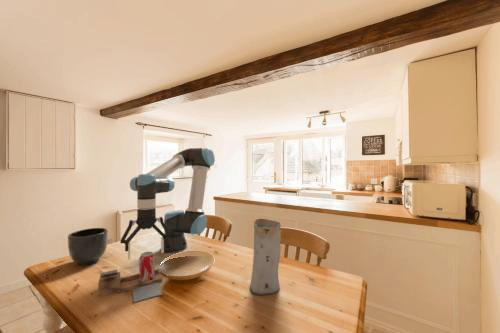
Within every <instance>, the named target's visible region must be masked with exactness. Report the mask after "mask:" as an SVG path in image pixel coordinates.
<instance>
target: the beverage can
mask: <svg viewBox="0 0 500 333" xmlns="http://www.w3.org/2000/svg"><path fill="white" fill-rule="evenodd" d="M155 256H156V255H155V254H154V252H152V251H145V252H142V253H141V254H140V257H139V264H138V265H139V273H138V274H139V276H140V278H139V282H140V283H142V282H146V281H150V280H154V279H156V278H155V276H156V274H155V270H156V269H155V264H156V263H155V262H156V261H155Z"/></svg>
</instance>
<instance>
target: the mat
mask: <svg viewBox="0 0 500 333" xmlns="http://www.w3.org/2000/svg"><path fill="white" fill-rule="evenodd" d="M159 283H160V282H159ZM159 283H154V284H150V285H146V286H142V287H138V288H135V289H132V298H133V304H135V303H138V302H143V301H145V300H149V299H153V298H156V297H159V296H162V295H163V293H162V290H161V287H160V284H159Z"/></svg>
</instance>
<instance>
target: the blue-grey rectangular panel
mask: <svg viewBox="0 0 500 333" xmlns="http://www.w3.org/2000/svg"><path fill="white" fill-rule="evenodd" d="M119 272H120V271H118V269H113V270H109V271H104V272H100V273H99V278H105V277H110V276H114V275H118V274H119Z"/></svg>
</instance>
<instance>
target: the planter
mask: <svg viewBox="0 0 500 333" xmlns="http://www.w3.org/2000/svg"><path fill="white" fill-rule="evenodd" d="M107 247H108V229H107V228H105V227H93V228H84V229H80V230H76V231H74V232H71V233H69V234H68V236H67V248H68V253H69V256H70V259H71V260H72V261H73V262H75V263H77V264H78V265H80V266H88V265H92V264H95V263H97V262H98V261H99V260H100V258H102V256H103V255H104V254H105V252H106V249H107Z"/></svg>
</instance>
